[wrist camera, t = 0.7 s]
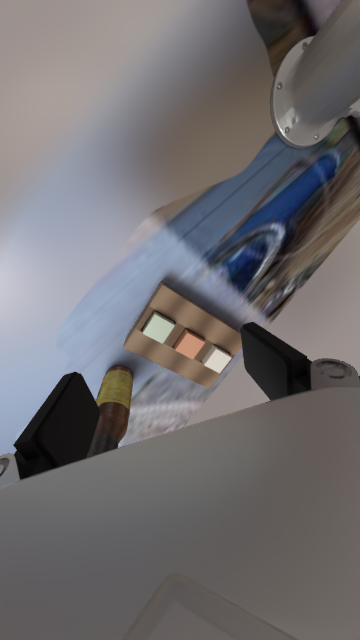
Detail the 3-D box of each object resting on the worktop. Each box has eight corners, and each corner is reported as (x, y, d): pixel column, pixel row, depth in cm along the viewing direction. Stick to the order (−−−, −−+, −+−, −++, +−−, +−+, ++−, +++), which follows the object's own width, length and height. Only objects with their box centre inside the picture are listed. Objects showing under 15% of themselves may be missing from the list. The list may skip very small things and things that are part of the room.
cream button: (200, 357, 40) (203, 365, 37) (211, 342, 39) (216, 349, 36) (214, 365, 41) (219, 373, 38) (226, 350, 40) (231, 357, 37)
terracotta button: (173, 343, 38) (175, 350, 35) (184, 326, 37) (187, 332, 34) (189, 352, 39) (192, 359, 36) (201, 336, 38) (205, 342, 35)
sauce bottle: (101, 368, 40) (58, 466, 21) (130, 361, 40) (113, 452, 22) (110, 391, 42) (78, 499, 23) (137, 385, 43) (127, 485, 24)
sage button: (143, 327, 35) (142, 333, 33) (154, 309, 35) (154, 314, 32) (161, 337, 37) (162, 343, 34) (172, 320, 36) (174, 325, 33)
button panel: (125, 338, 38) (123, 347, 35) (161, 281, 36) (162, 284, 32) (204, 377, 45) (209, 388, 41) (239, 331, 42) (247, 338, 38)
